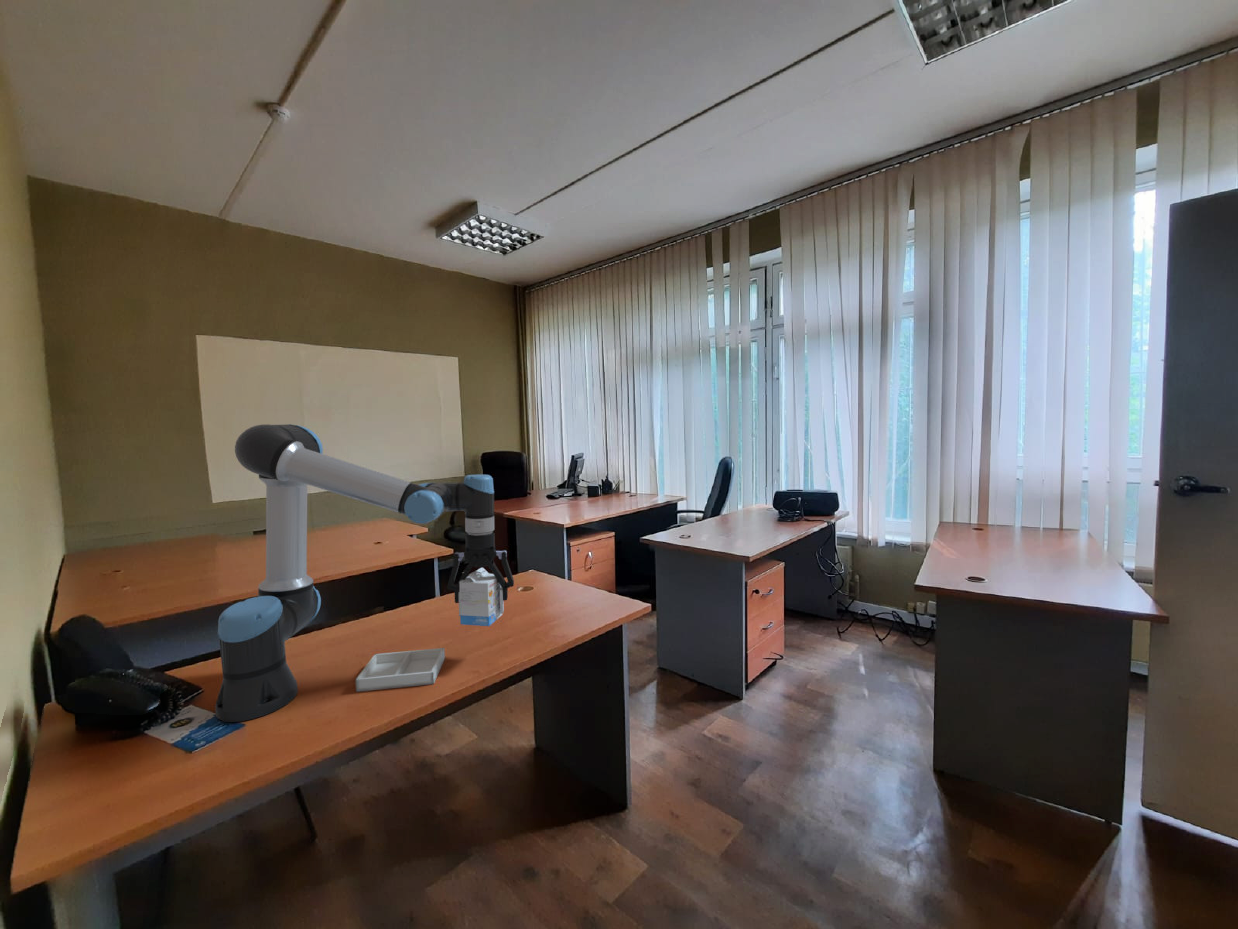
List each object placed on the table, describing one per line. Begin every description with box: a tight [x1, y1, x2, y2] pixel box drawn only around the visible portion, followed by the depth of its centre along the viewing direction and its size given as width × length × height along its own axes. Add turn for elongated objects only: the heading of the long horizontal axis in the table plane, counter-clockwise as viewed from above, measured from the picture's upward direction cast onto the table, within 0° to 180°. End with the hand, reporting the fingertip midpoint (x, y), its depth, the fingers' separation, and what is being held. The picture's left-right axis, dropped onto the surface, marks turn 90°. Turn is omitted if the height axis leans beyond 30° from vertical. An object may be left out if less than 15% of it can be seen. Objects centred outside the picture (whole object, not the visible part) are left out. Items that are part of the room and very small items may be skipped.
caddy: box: [355, 647, 446, 693], centre depth 122 cm, size 18×13×3 cm
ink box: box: [459, 567, 503, 627], centre depth 128 cm, size 9×8×13 cm
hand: (481, 613), depth 129 cm, fingers closed on ink box, 10 cm apart
